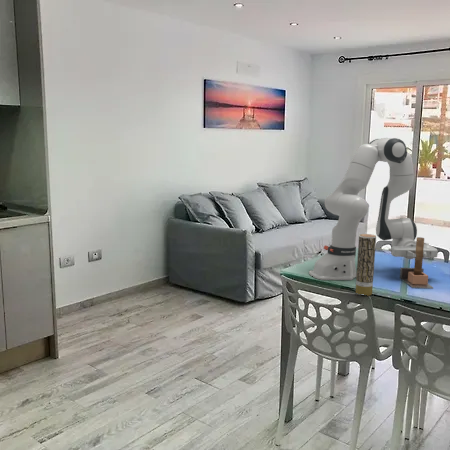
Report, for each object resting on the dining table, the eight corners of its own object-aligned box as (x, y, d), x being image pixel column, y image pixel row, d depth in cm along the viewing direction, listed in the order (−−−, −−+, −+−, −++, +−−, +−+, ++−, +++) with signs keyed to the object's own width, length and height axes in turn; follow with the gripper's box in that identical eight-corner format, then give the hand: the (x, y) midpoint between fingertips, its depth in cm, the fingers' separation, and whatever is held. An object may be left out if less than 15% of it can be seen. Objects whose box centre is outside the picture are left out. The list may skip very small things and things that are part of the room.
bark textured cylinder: (372, 297, 207) (376, 237, 203) (355, 295, 209) (359, 236, 205) (371, 292, 214) (375, 234, 210) (354, 291, 215) (358, 233, 211)
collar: (427, 284, 225) (428, 275, 224) (412, 284, 225) (413, 275, 224) (422, 280, 231) (422, 272, 230) (407, 280, 231) (408, 271, 231)
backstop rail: (434, 288, 221) (435, 277, 220) (411, 288, 221) (412, 276, 221) (421, 278, 237) (422, 268, 236) (399, 278, 237) (400, 267, 236)
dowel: (416, 282, 227) (419, 238, 223) (411, 280, 230) (415, 237, 227) (422, 282, 227) (425, 238, 224) (418, 280, 230) (421, 237, 227)
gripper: (387, 242, 239) (396, 248, 225) (431, 243, 239) (443, 249, 225) (386, 255, 240) (395, 262, 226) (430, 256, 240) (441, 263, 226)
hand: (419, 255), depth 226 cm, fingers closed on dowel, 3 cm apart
